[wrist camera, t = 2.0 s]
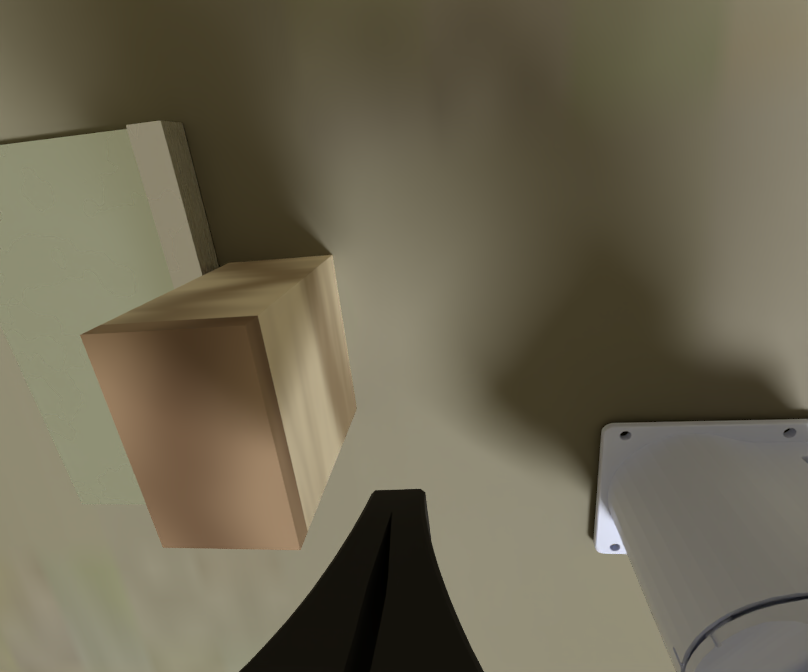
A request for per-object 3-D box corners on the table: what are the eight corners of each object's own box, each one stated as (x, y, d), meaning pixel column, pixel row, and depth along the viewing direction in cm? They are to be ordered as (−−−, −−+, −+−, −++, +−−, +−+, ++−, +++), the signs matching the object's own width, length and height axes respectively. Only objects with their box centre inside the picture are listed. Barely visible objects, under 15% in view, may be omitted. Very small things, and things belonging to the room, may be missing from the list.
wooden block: (332, 254, 20) (245, 325, 12) (356, 408, 23) (300, 549, 15) (228, 262, 21) (80, 334, 13) (265, 410, 24) (163, 547, 16)
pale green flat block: (182, 122, 19) (160, 120, 18) (278, 501, 26) (268, 520, 25) (-71, 155, 21) (-108, 155, 19) (85, 500, 28) (66, 518, 27)
